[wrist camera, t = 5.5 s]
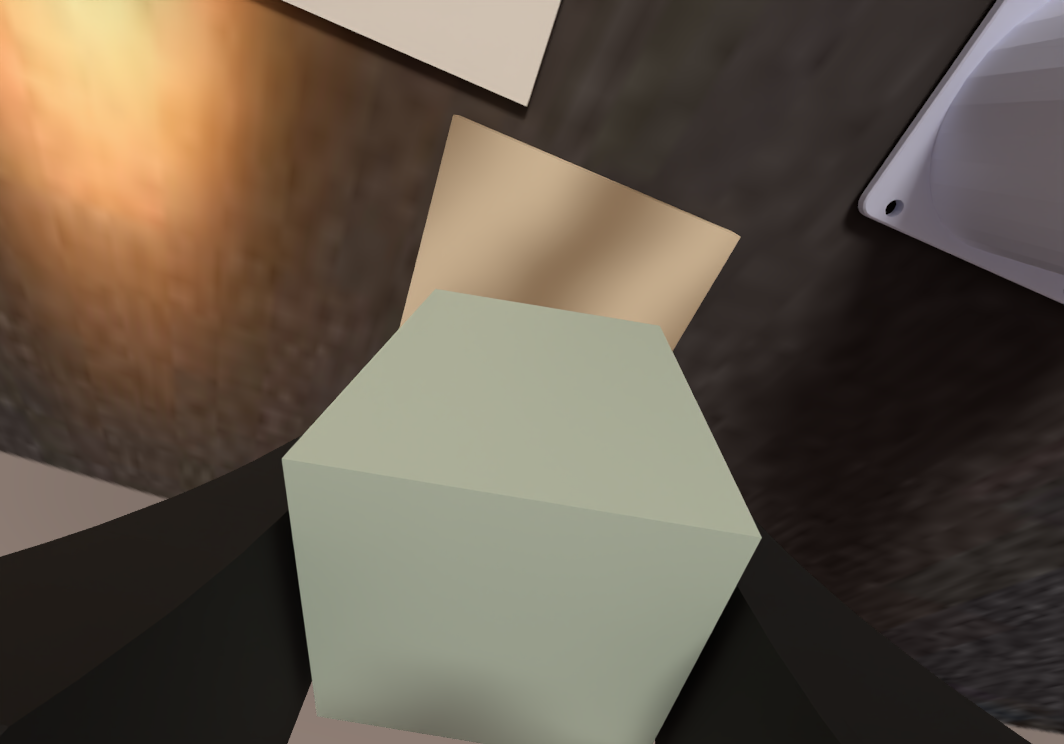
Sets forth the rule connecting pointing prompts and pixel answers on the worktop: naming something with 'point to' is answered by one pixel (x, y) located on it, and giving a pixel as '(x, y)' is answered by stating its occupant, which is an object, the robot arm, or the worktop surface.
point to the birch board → (560, 237)
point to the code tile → (457, 35)
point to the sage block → (513, 529)
